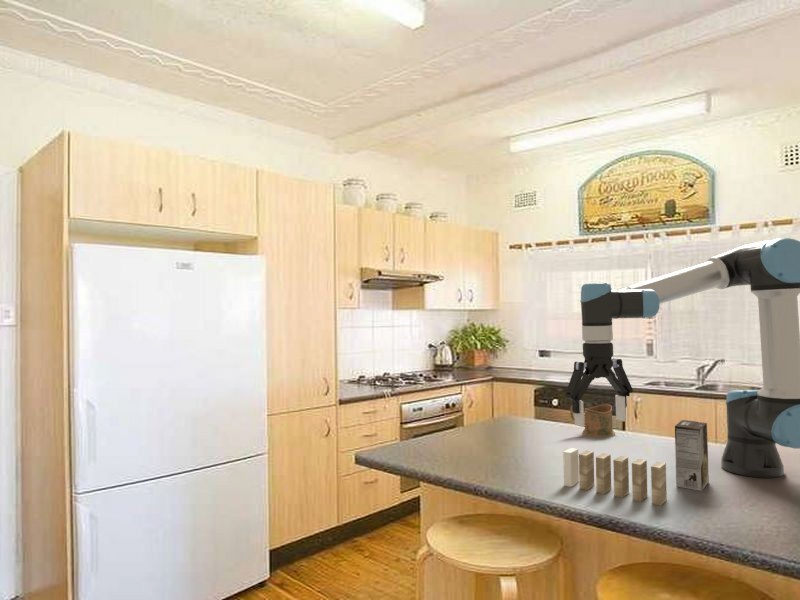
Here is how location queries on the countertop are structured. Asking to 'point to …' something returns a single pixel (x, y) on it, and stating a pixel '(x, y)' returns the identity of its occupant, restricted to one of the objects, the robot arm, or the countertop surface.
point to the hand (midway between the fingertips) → (600, 423)
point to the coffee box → (691, 455)
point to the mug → (598, 421)
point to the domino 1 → (571, 467)
